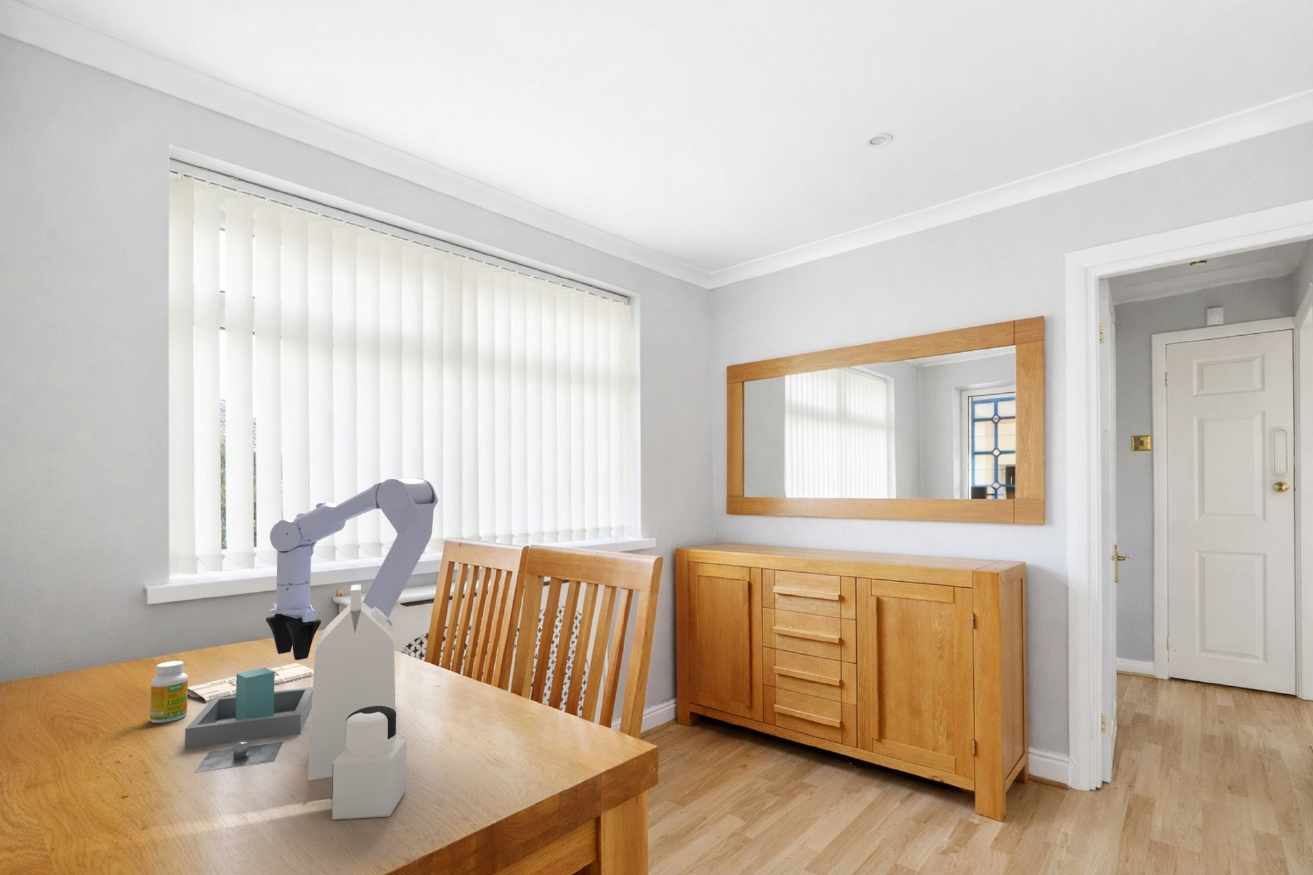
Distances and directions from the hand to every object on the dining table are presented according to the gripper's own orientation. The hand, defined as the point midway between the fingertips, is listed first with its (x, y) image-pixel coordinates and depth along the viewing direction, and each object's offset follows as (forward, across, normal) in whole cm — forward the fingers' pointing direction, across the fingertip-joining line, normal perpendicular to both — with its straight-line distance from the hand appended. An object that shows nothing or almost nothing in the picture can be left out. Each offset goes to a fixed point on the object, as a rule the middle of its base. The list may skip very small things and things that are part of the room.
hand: (292, 655), depth 126 cm
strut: (+9, +8, -9) cm, 15 cm away
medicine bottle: (+10, +50, -10) cm, 52 cm away
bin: (+9, +8, -9) cm, 15 cm away
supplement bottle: (+10, -12, -16) cm, 22 cm away
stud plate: (+9, +21, -16) cm, 28 cm away
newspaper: (+10, -23, +1) cm, 25 cm away
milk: (+10, +35, -5) cm, 37 cm away
